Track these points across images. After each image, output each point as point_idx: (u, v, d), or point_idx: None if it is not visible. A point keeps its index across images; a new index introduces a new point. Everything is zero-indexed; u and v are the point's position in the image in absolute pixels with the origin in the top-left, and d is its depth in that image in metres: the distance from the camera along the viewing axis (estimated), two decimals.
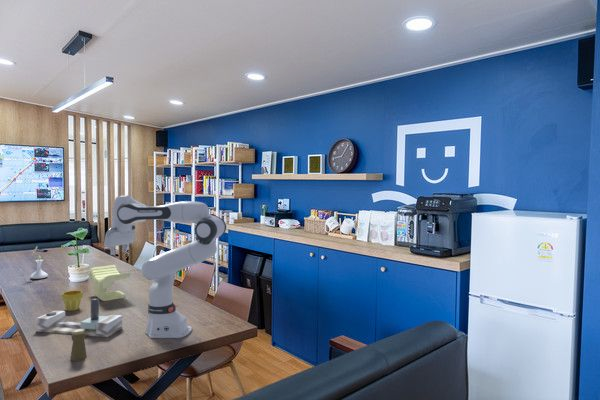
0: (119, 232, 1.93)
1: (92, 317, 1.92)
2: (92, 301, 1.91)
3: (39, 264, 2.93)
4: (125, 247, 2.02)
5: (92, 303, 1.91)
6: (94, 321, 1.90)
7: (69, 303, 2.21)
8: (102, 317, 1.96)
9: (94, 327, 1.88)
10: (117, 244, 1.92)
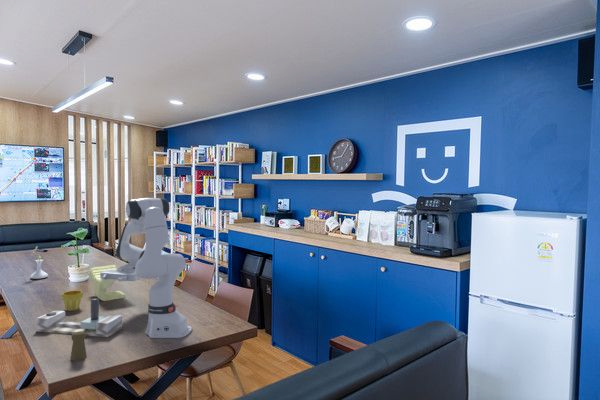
0: (117, 270, 2.18)
1: (92, 317, 1.92)
2: (92, 301, 1.91)
3: (39, 264, 2.93)
4: None
5: (92, 303, 1.91)
6: (94, 321, 1.90)
7: (69, 303, 2.21)
8: (102, 317, 1.96)
9: (94, 327, 1.88)
10: (109, 272, 2.12)
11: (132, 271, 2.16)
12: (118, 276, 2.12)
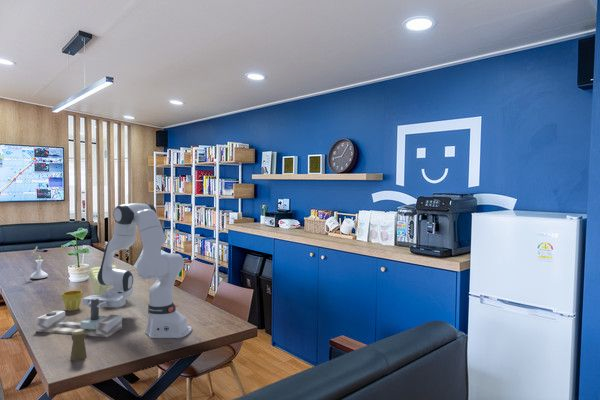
0: (101, 295, 2.04)
1: (92, 317, 1.92)
2: (92, 301, 1.91)
3: (39, 264, 2.93)
4: None
5: (92, 303, 1.91)
6: (94, 321, 1.90)
7: (69, 303, 2.21)
8: (102, 317, 1.96)
9: (94, 327, 1.88)
10: (92, 298, 1.98)
11: (117, 296, 2.02)
12: (101, 302, 1.97)
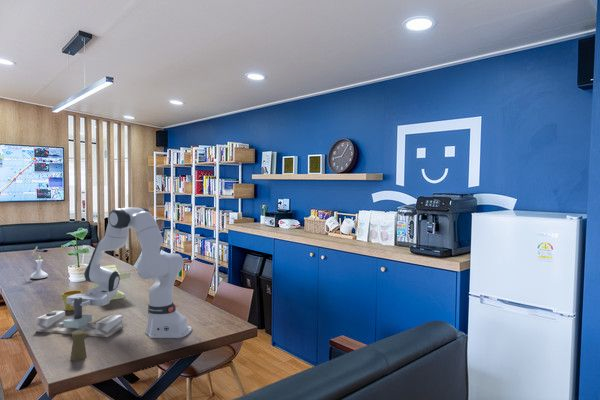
0: (85, 294, 2.05)
1: (75, 316, 1.93)
2: (75, 300, 1.92)
3: (39, 264, 2.93)
4: None
5: (75, 302, 1.92)
6: (77, 320, 1.91)
7: None
8: (85, 316, 1.97)
9: (77, 326, 1.89)
10: (76, 297, 1.99)
11: (101, 295, 2.03)
12: (85, 301, 1.99)
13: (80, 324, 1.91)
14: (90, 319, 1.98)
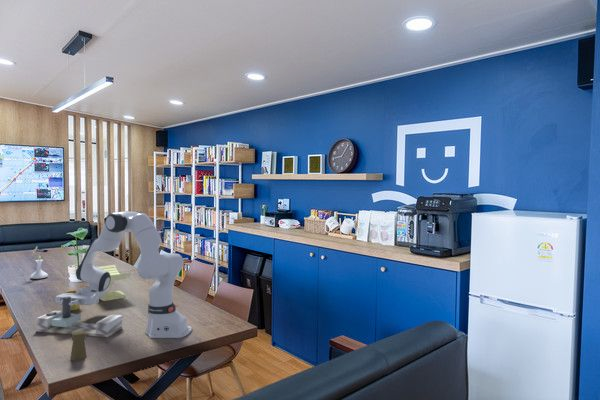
0: None
1: (64, 315, 1.93)
2: (64, 299, 1.93)
3: (39, 264, 2.93)
4: None
5: (64, 301, 1.93)
6: (65, 319, 1.92)
7: None
8: (74, 315, 1.98)
9: (65, 325, 1.90)
10: (65, 296, 2.00)
11: (90, 294, 2.04)
12: (74, 300, 1.99)
13: (68, 323, 1.91)
14: (79, 319, 1.99)
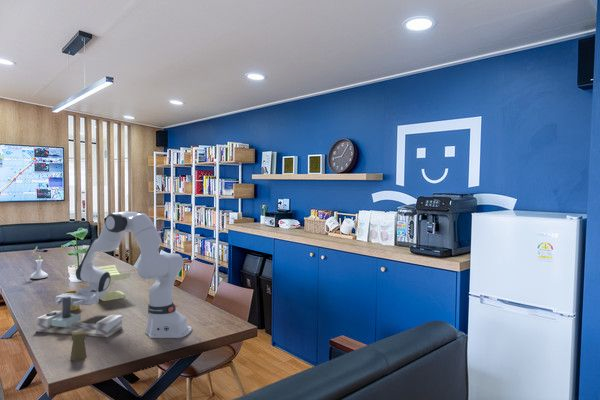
0: None
1: (64, 315, 1.93)
2: (64, 299, 1.93)
3: (39, 264, 2.93)
4: None
5: (64, 301, 1.93)
6: (65, 319, 1.92)
7: None
8: (74, 315, 1.98)
9: (65, 325, 1.90)
10: (65, 296, 2.00)
11: (90, 294, 2.04)
12: (74, 300, 1.99)
13: (68, 323, 1.91)
14: (79, 319, 1.99)
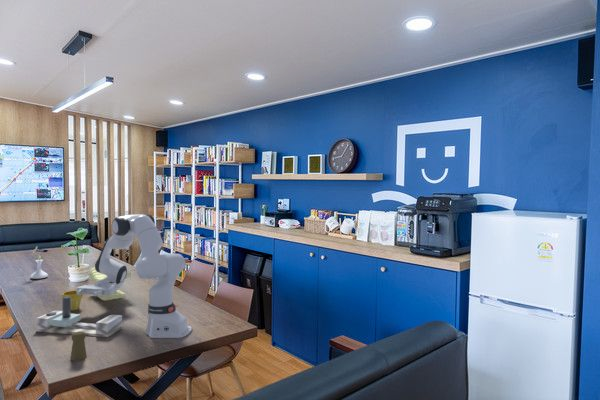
0: (94, 285, 2.20)
1: (64, 315, 1.93)
2: (64, 299, 1.93)
3: (39, 264, 2.93)
4: None
5: (64, 301, 1.93)
6: (65, 319, 1.92)
7: None
8: (74, 315, 1.98)
9: (65, 325, 1.90)
10: (85, 287, 2.14)
11: (108, 285, 2.18)
12: (94, 291, 2.13)
13: (68, 323, 1.91)
14: (79, 319, 1.99)
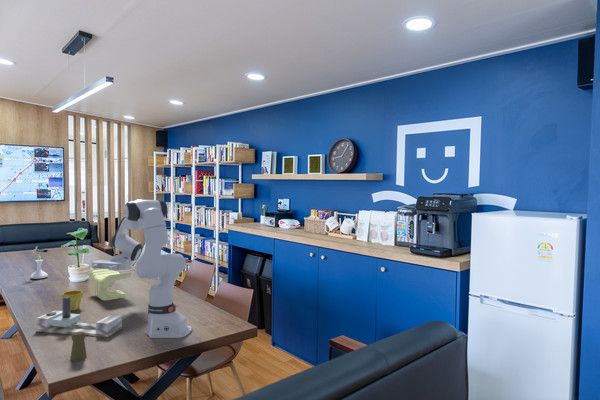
0: (108, 260, 2.22)
1: (64, 315, 1.93)
2: (64, 299, 1.93)
3: (39, 264, 2.93)
4: None
5: (64, 301, 1.93)
6: (65, 319, 1.92)
7: None
8: (74, 315, 1.98)
9: (65, 325, 1.90)
10: (100, 262, 2.16)
11: (123, 260, 2.20)
12: (109, 265, 2.16)
13: (68, 323, 1.91)
14: (79, 319, 1.99)
